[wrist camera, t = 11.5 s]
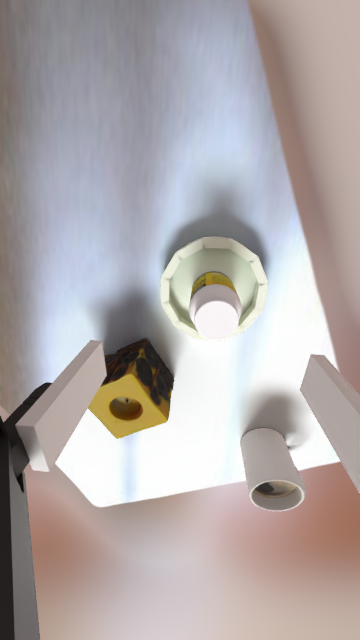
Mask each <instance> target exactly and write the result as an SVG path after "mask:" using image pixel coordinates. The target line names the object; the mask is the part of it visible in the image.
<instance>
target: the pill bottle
mask: <svg viewBox="0 0 360 640" xmlns="http://www.w3.org/2000/svg"><path fill="white" fill-rule="evenodd" d="M241 313H242V305H241V301H240V298H239V296H238V294H237V292H236V289H235V287H234V285H233V283H232V281H231V280H230V278H229V277H228V276H227V275H225V274H224V273H222V272H219V271H208V272H205V273H203V274H201V275H200V276H199V277H198V278H197V279H196V280H195V282H194V284H193V286H192V291H191V297H190V304H189V314H190V318H191V320H192V322H193V324H194V325H195V327H196V329H197V331H198V332H199V333H200V334H201V335H202V336H203V337H205V338H207V339H210V340H222V339H225V338H227V337H229V336H231V335H232V334H233V333H234V332H235V331H236V329H237V327H238V324H239V319H240V317H241Z"/></svg>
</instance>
